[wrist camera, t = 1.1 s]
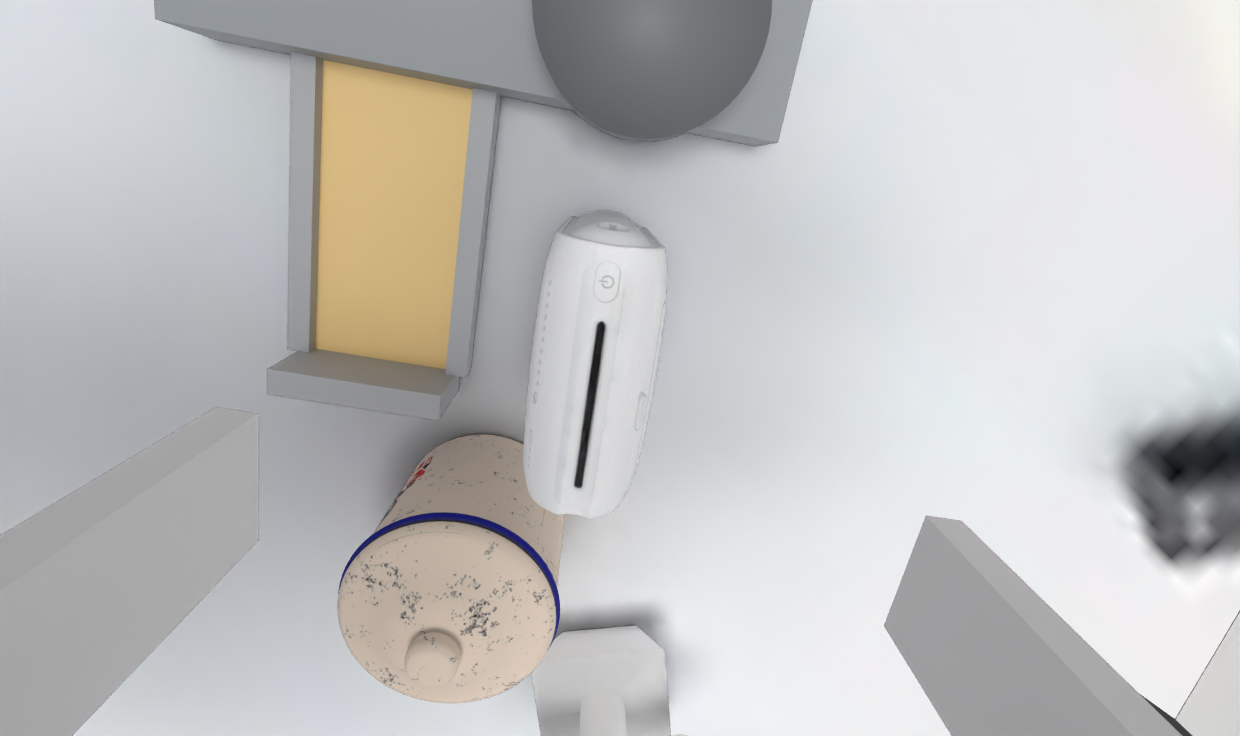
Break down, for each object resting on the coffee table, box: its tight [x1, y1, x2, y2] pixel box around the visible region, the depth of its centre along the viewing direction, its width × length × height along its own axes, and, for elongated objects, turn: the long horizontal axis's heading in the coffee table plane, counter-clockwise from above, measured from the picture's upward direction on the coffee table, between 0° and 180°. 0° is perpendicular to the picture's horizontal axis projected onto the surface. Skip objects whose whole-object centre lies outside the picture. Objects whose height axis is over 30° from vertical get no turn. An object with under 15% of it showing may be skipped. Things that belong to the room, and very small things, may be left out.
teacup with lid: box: [337, 434, 565, 703], centre depth 28 cm, size 12×9×12 cm
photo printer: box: [523, 210, 667, 519], centre depth 24 cm, size 10×4×12 cm, turn 171°
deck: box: [154, 0, 813, 421], centre depth 25 cm, size 24×21×7 cm
